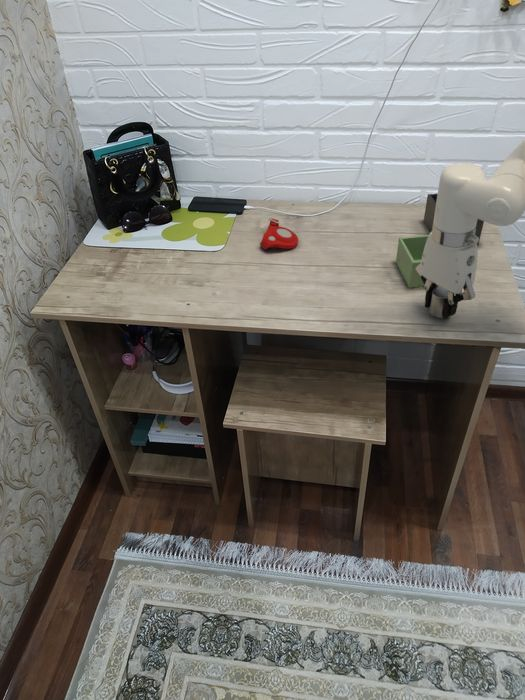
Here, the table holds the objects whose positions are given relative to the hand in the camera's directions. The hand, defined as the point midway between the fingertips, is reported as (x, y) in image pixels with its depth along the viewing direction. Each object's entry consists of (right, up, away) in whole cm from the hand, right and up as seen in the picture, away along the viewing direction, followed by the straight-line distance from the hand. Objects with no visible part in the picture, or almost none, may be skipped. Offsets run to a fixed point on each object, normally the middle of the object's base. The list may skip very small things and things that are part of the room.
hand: (439, 309), depth 117 cm
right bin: (+10, +21, +24) cm, 33 cm away
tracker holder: (-32, +19, +26) cm, 45 cm away
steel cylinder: (0, 0, 0) cm, 0 cm away
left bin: (0, +9, +12) cm, 16 cm away
